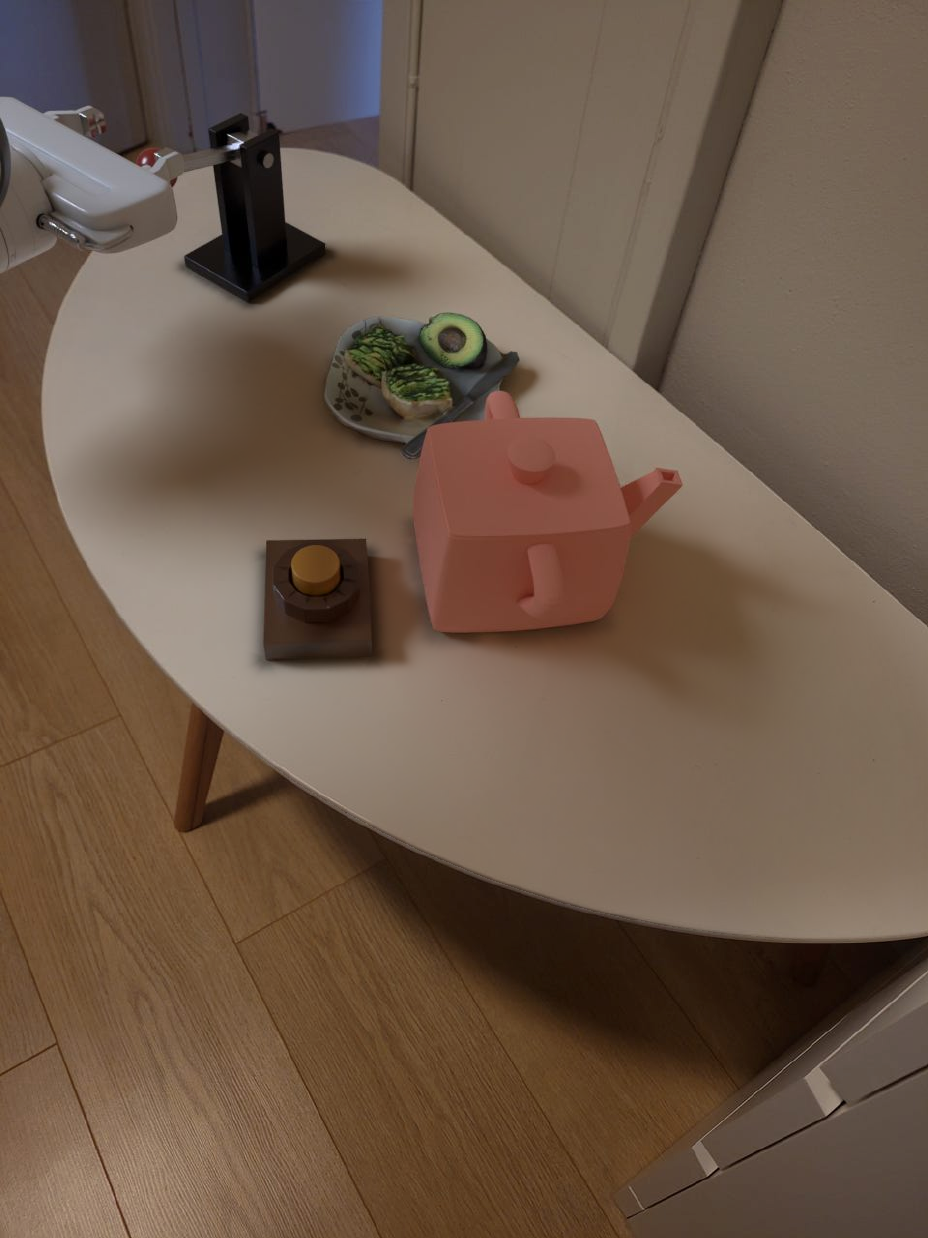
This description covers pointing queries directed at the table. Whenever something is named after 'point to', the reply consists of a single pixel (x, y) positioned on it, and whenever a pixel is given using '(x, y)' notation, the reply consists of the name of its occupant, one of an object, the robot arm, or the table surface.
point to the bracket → (252, 220)
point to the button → (315, 570)
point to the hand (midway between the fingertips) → (138, 137)
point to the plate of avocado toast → (413, 376)
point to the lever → (204, 154)
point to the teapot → (524, 520)
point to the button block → (317, 605)
